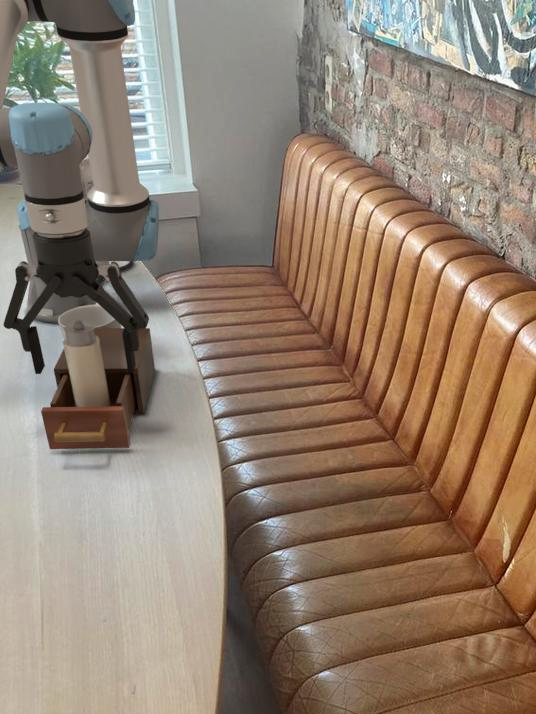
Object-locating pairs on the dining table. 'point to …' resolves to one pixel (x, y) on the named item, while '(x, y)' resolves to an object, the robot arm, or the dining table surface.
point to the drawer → (91, 416)
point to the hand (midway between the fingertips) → (86, 369)
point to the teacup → (88, 317)
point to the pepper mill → (85, 365)
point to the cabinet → (122, 361)
